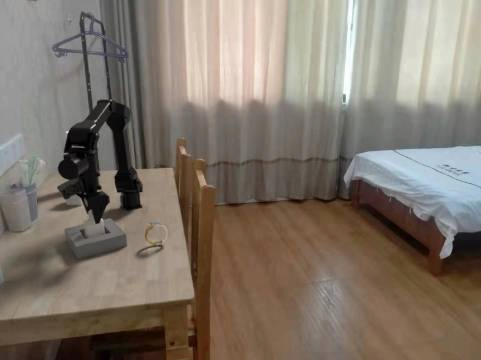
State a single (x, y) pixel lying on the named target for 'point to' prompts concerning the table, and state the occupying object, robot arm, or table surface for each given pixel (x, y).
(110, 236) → the holder block
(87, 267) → the table surface
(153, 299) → the table surface
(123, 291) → the table surface
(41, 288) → the table surface
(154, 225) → the bracelet
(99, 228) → the eye dropper bottle
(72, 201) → the product box
